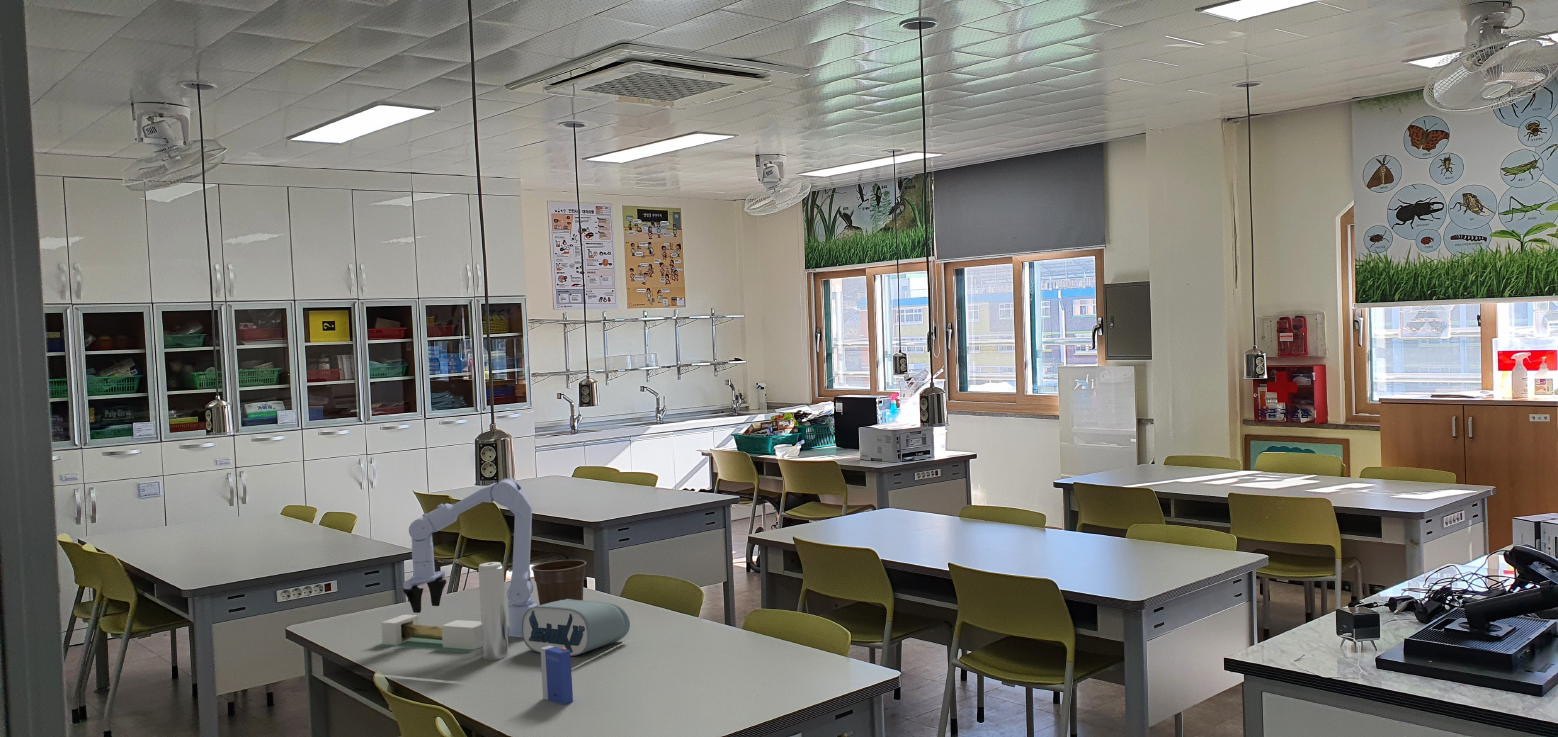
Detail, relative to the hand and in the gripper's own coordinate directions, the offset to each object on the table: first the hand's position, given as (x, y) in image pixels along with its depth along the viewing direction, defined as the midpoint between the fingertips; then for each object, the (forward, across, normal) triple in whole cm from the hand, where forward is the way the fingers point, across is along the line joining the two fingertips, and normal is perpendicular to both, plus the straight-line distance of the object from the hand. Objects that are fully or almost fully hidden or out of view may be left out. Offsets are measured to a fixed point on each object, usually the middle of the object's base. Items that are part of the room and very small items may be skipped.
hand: (426, 609), depth 307 cm
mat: (+9, +2, +4) cm, 10 cm away
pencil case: (+10, -5, +46) cm, 48 cm away
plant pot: (+10, -32, +23) cm, 40 cm away
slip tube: (+8, +2, +2) cm, 8 cm away
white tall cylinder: (+10, +9, +30) cm, 33 cm away
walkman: (+10, +34, +67) cm, 76 cm away
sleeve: (+9, +2, +14) cm, 17 cm away
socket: (+9, +2, -8) cm, 12 cm away
